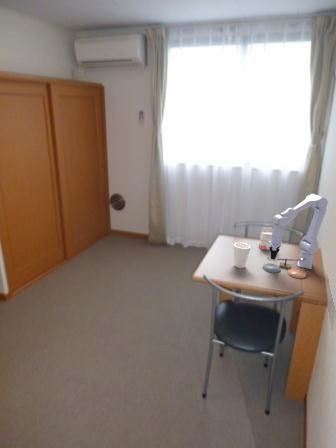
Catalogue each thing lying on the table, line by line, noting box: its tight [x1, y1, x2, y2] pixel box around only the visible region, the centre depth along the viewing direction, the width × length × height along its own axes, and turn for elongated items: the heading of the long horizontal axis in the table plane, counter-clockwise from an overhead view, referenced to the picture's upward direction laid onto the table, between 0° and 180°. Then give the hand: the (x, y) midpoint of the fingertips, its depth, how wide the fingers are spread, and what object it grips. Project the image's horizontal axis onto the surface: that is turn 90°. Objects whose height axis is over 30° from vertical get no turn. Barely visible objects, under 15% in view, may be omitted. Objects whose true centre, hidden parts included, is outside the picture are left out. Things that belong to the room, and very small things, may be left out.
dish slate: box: [262, 263, 281, 274], centre depth 192 cm, size 10×10×1 cm
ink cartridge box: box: [258, 226, 273, 251], centre depth 218 cm, size 9×5×15 cm, turn 92°
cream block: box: [267, 251, 280, 263], centre depth 189 cm, size 5×5×6 cm
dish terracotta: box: [286, 268, 307, 279], centre depth 187 cm, size 10×10×1 cm
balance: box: [266, 256, 306, 270], centre depth 195 cm, size 5×22×8 cm, turn 67°
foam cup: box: [233, 242, 251, 269], centre depth 192 cm, size 10×9×13 cm
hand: (273, 257), depth 190 cm, fingers closed on cream block, 5 cm apart
